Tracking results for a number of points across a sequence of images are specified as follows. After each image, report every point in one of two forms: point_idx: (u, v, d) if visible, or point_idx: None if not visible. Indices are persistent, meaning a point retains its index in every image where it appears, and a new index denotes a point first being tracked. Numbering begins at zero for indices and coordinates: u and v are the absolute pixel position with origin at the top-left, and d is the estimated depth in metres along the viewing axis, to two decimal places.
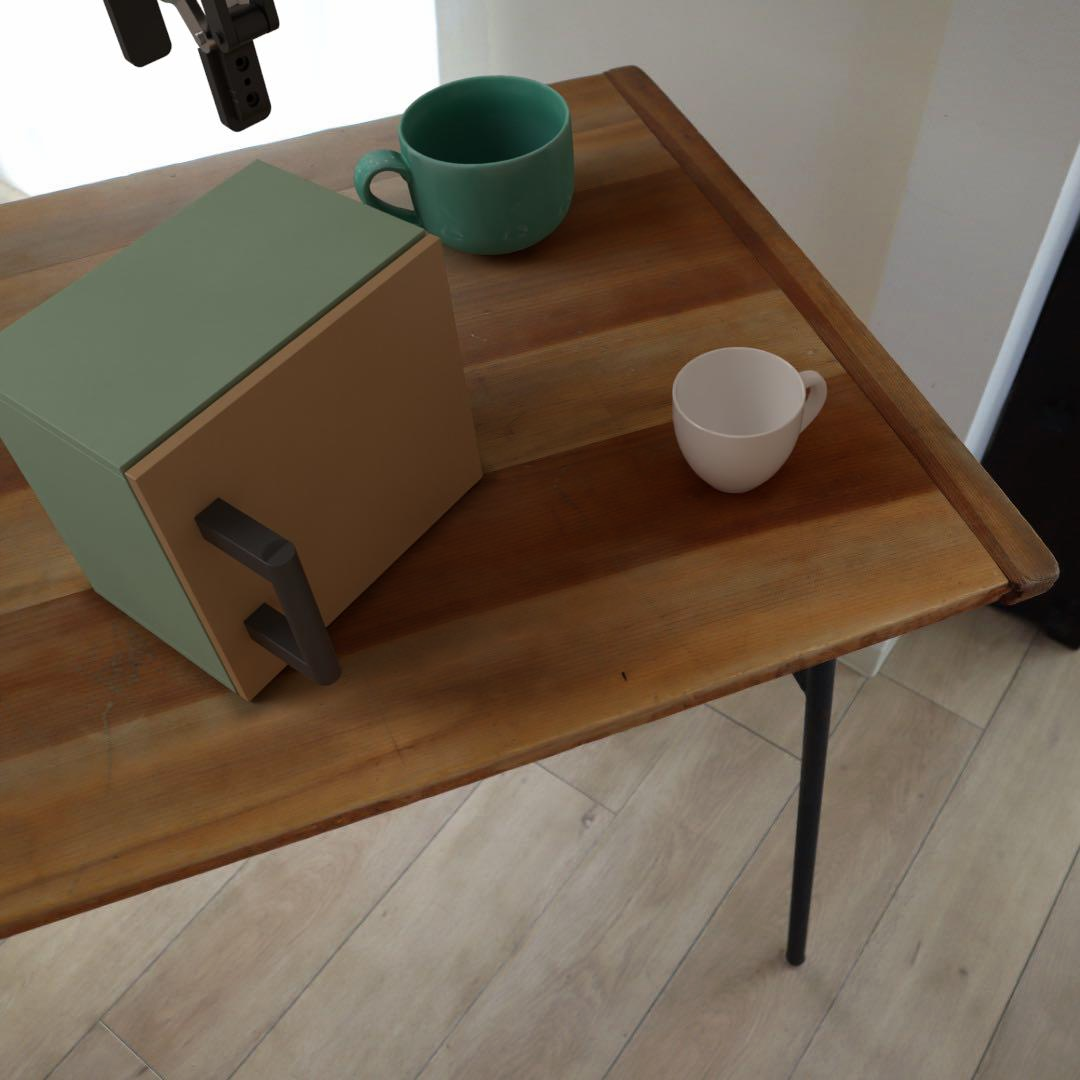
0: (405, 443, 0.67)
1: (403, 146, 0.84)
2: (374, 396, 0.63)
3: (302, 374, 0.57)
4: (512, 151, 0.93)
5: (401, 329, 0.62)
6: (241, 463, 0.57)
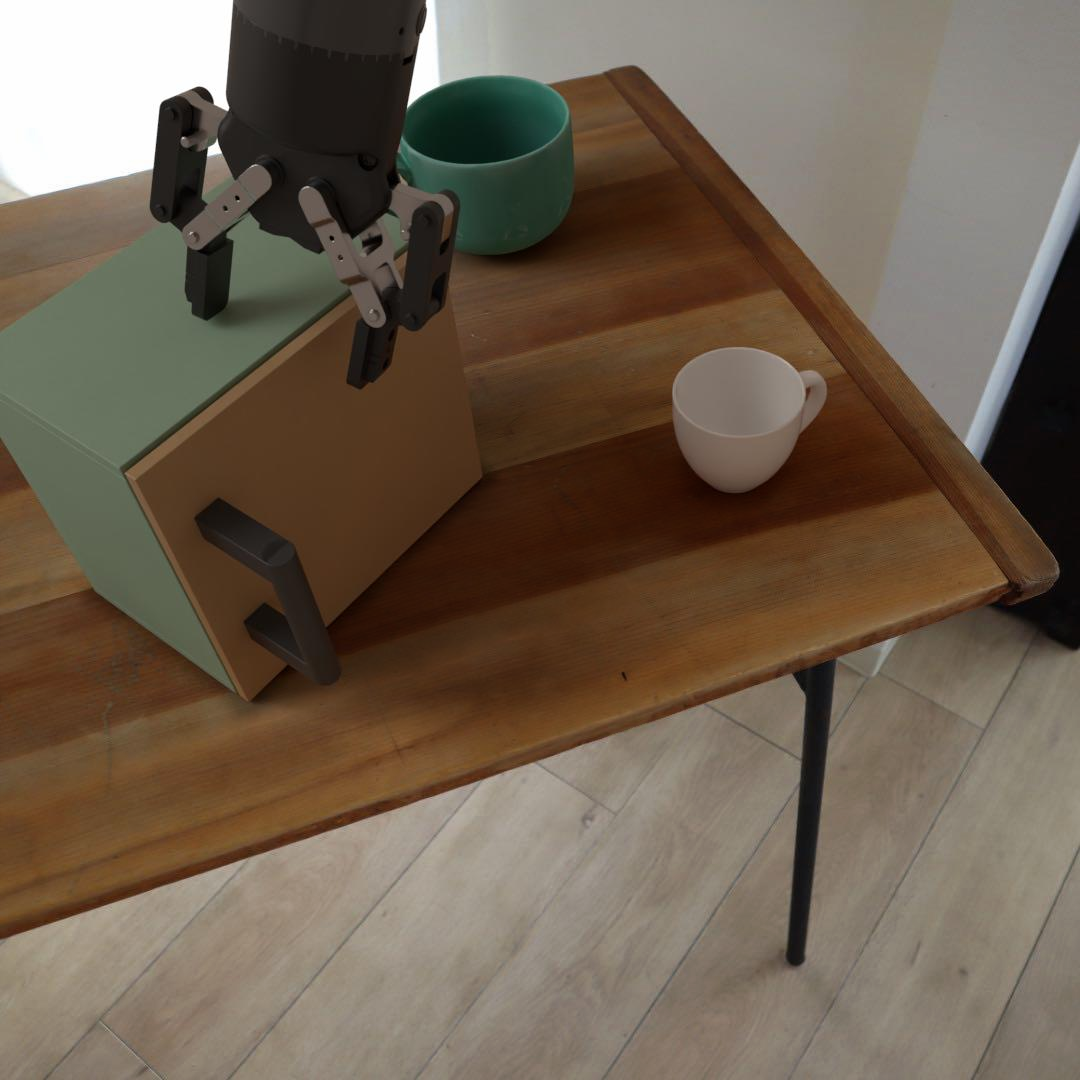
0: (405, 443, 0.67)
1: (403, 146, 0.84)
2: (374, 396, 0.63)
3: (302, 374, 0.57)
4: (512, 151, 0.94)
5: (401, 329, 0.62)
6: (241, 463, 0.57)
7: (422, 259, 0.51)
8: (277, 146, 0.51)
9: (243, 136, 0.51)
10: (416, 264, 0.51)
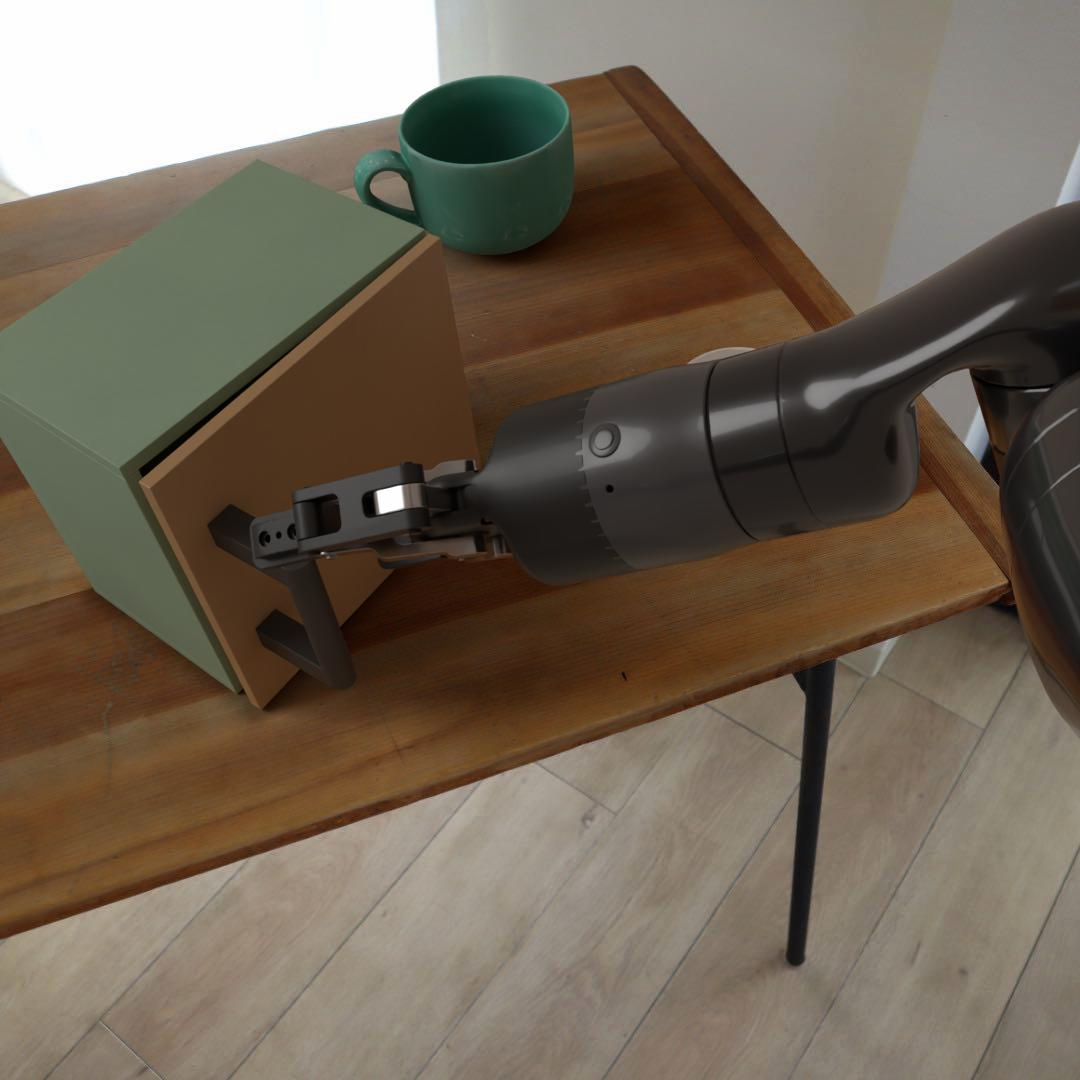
0: (409, 445, 0.67)
1: (403, 146, 0.84)
2: (379, 398, 0.63)
3: (310, 377, 0.57)
4: (512, 151, 0.93)
5: (404, 330, 0.62)
6: (252, 469, 0.56)
7: None
8: None
9: (474, 528, 0.47)
10: None
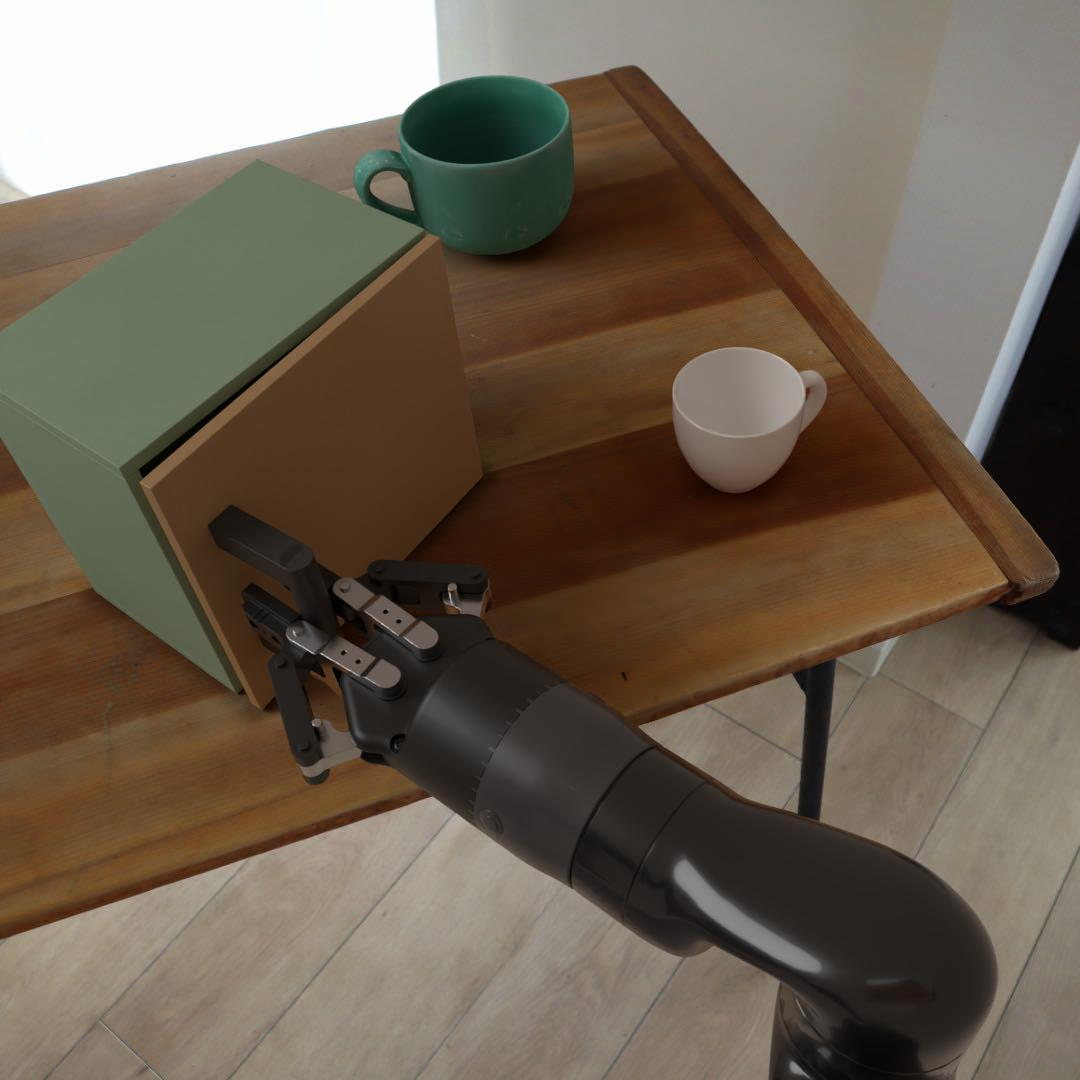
0: (409, 445, 0.67)
1: (403, 146, 0.84)
2: (379, 398, 0.63)
3: (310, 378, 0.57)
4: (512, 151, 0.93)
5: (404, 330, 0.62)
6: (252, 469, 0.56)
7: None
8: None
9: None
10: None
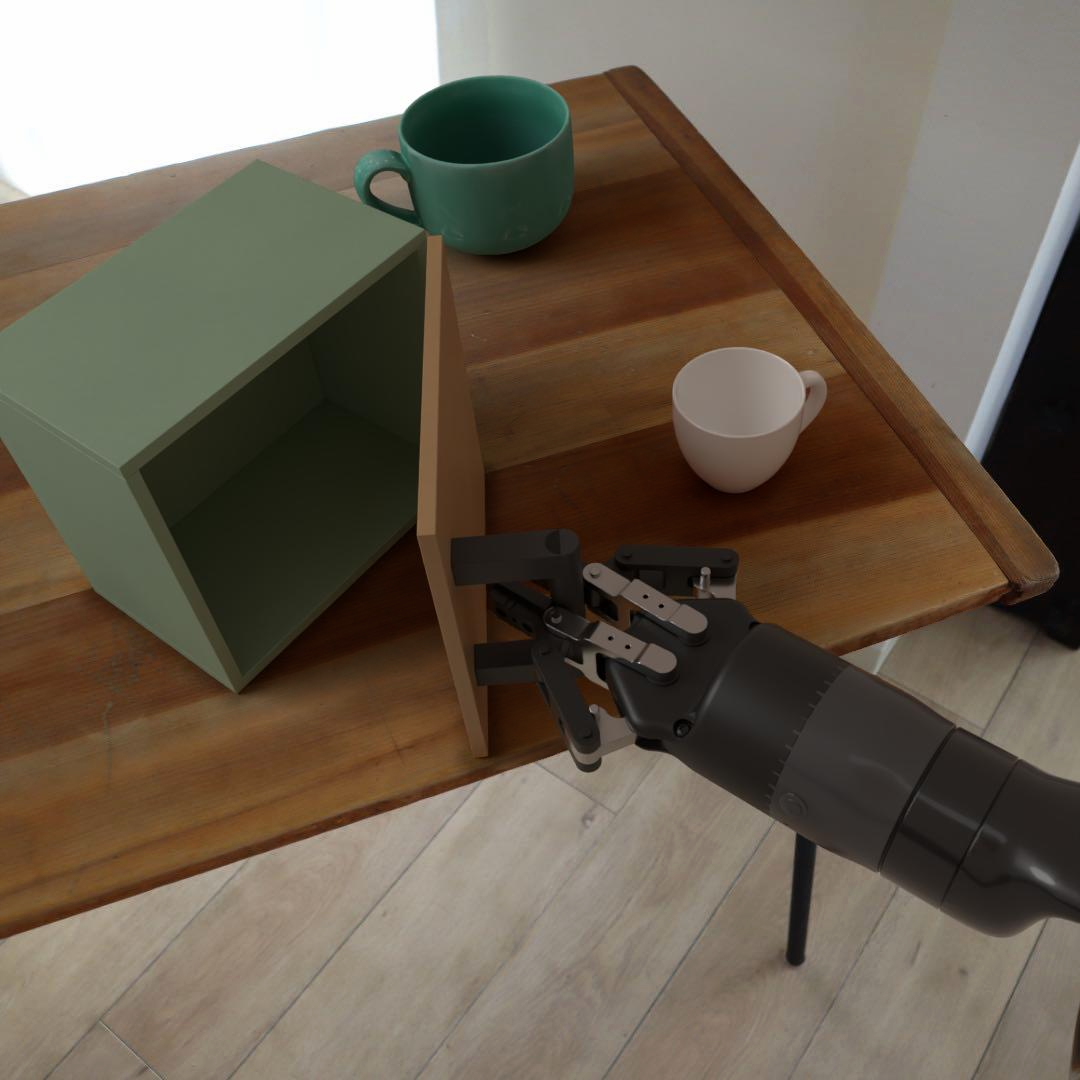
0: (469, 450, 0.66)
1: (403, 146, 0.84)
2: (457, 406, 0.62)
3: (443, 393, 0.56)
4: (512, 151, 0.93)
5: (451, 333, 0.62)
6: (449, 497, 0.54)
7: None
8: None
9: None
10: None
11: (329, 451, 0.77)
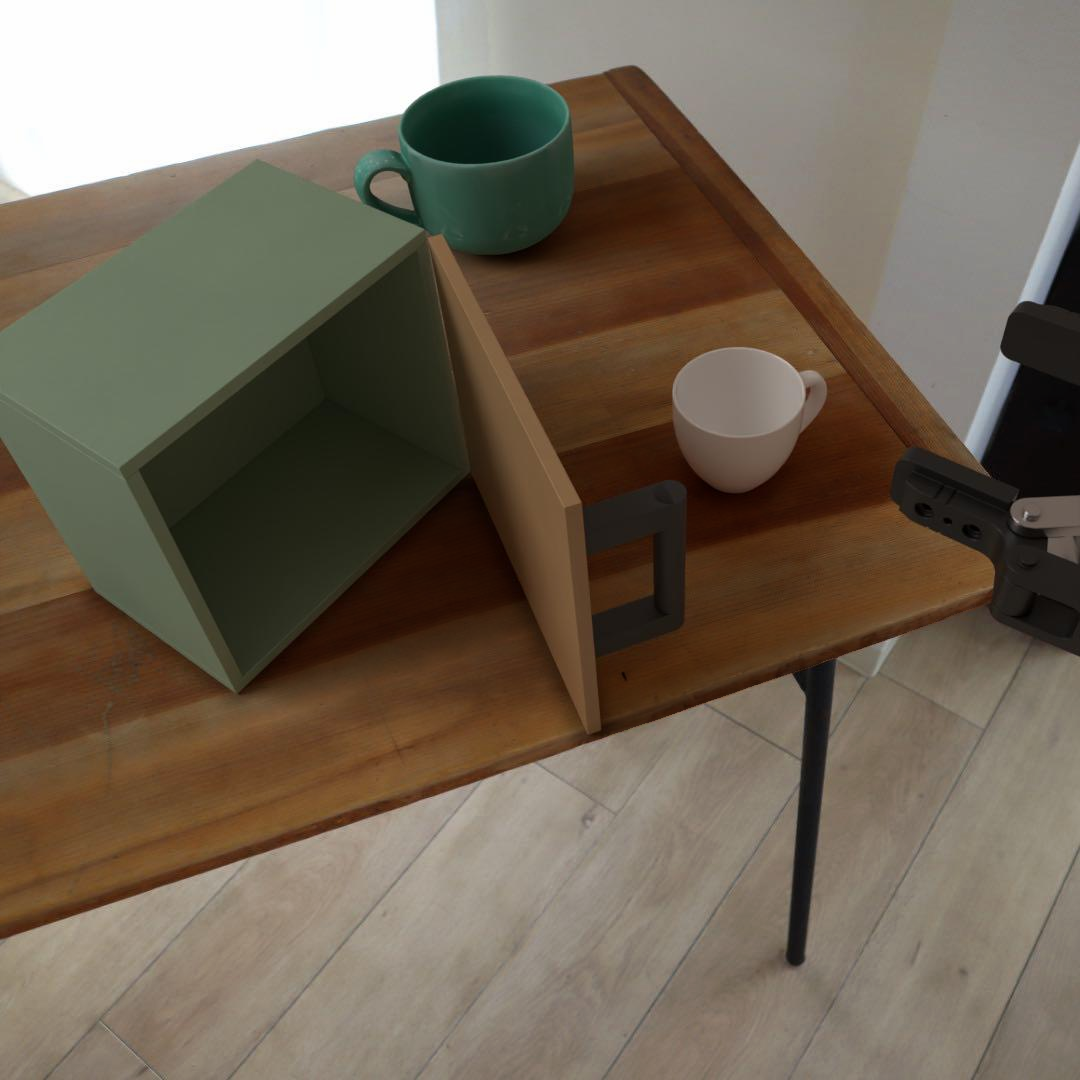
0: None
1: (403, 146, 0.84)
2: None
3: None
4: (512, 151, 0.93)
5: None
6: None
7: None
8: None
9: None
10: None
11: (329, 451, 0.77)
